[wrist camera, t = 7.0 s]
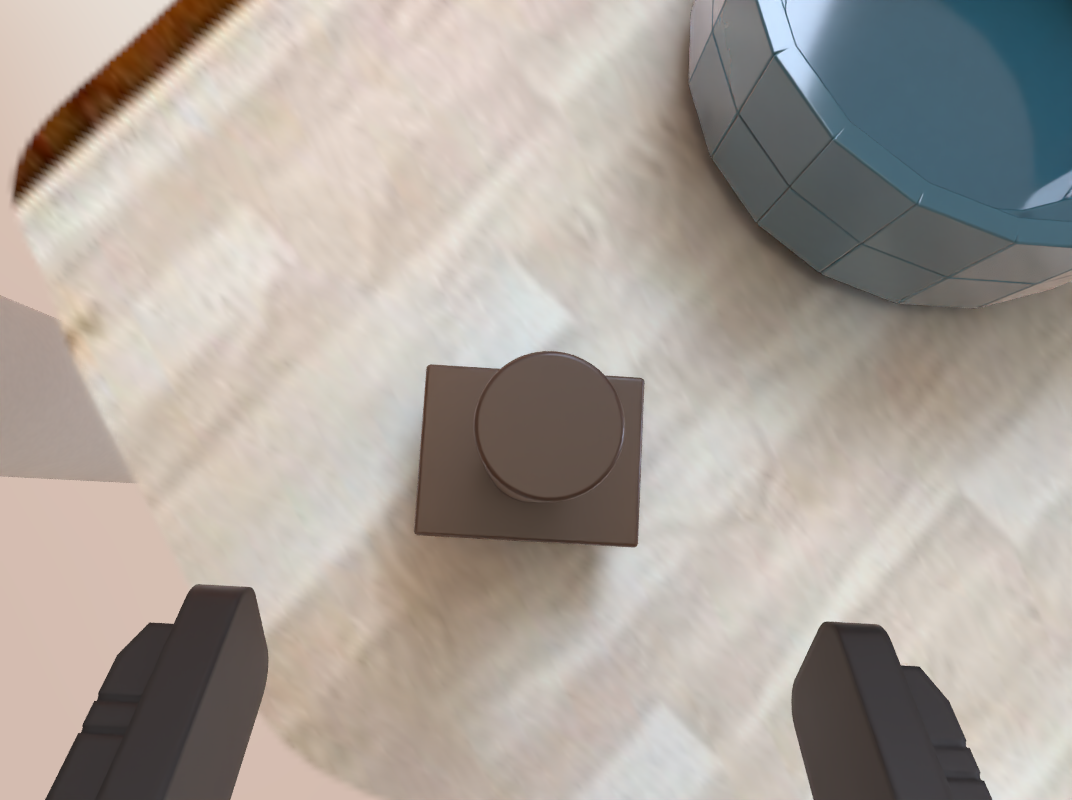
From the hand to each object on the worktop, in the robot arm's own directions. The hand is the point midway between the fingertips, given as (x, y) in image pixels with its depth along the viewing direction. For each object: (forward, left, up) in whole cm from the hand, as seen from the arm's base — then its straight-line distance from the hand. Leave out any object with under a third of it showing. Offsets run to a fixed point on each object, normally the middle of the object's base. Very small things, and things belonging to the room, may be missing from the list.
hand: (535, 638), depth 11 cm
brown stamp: (0, +3, -10) cm, 10 cm away
